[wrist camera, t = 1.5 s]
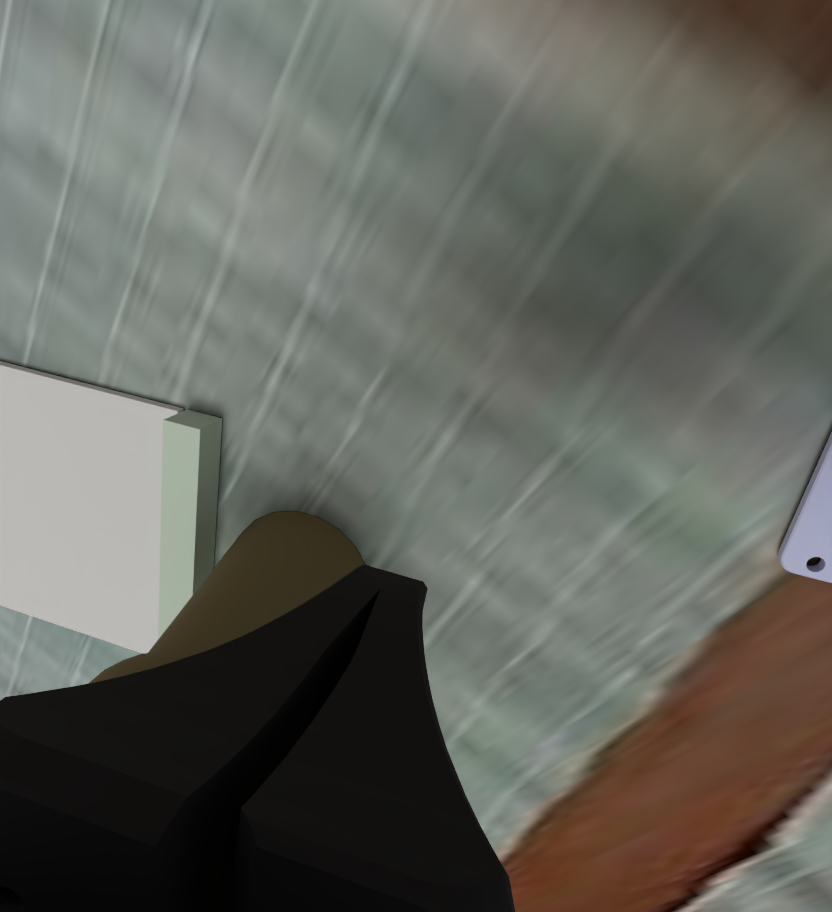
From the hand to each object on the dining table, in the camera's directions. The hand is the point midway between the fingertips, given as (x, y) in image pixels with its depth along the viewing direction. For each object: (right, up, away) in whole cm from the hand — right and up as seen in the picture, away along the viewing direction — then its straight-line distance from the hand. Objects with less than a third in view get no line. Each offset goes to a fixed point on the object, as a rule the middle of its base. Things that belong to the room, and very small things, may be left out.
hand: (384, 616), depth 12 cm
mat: (-15, +1, +15) cm, 21 cm away
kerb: (-8, -1, +14) cm, 16 cm away
